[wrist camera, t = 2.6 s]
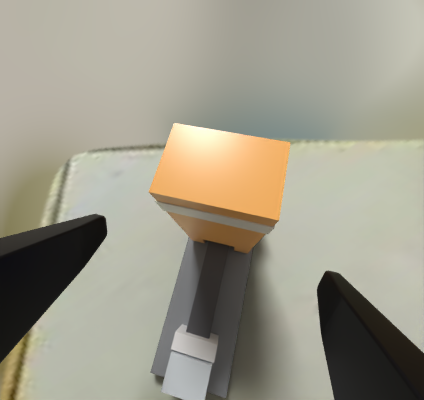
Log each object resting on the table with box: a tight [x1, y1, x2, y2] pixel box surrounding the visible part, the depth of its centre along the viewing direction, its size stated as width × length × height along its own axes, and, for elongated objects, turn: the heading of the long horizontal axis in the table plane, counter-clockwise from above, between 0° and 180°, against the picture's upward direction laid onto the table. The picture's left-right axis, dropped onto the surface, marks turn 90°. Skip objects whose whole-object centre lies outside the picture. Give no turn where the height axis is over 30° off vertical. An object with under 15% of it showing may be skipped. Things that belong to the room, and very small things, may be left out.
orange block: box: [149, 123, 290, 254], centre depth 13 cm, size 3×5×11 cm
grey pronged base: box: [150, 237, 253, 400], centre depth 16 cm, size 14×5×4 cm, turn 166°
